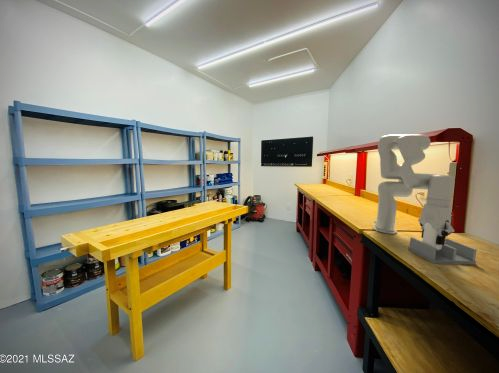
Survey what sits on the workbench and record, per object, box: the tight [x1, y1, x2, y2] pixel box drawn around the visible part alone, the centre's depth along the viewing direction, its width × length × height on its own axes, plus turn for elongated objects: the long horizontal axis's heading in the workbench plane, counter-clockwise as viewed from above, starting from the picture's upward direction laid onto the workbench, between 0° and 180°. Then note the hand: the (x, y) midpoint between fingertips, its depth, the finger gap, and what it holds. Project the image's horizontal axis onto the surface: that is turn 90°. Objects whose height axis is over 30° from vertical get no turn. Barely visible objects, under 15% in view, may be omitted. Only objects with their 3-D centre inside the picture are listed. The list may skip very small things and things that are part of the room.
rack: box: [407, 237, 478, 266], centre depth 86 cm, size 13×18×6 cm
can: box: [422, 223, 444, 250], centre depth 85 cm, size 6×6×12 cm
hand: (432, 240), depth 86 cm, fingers closed on can, 6 cm apart
